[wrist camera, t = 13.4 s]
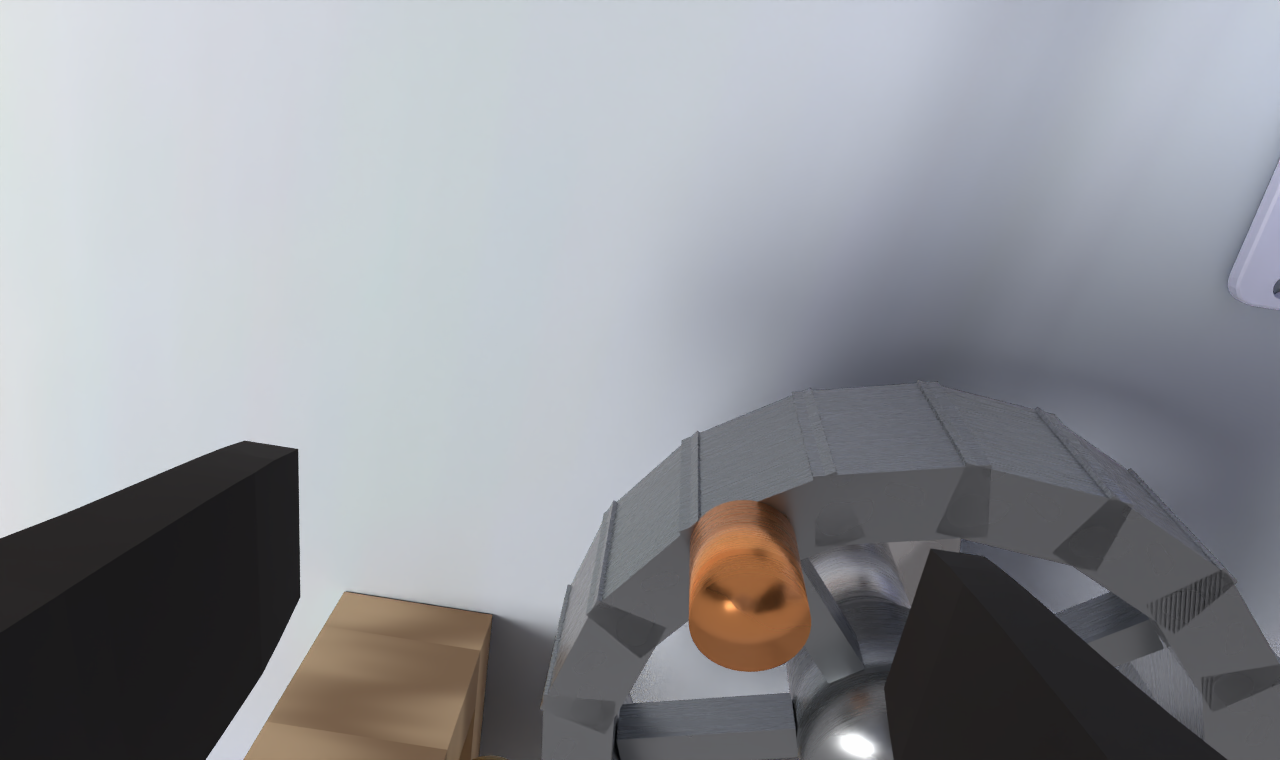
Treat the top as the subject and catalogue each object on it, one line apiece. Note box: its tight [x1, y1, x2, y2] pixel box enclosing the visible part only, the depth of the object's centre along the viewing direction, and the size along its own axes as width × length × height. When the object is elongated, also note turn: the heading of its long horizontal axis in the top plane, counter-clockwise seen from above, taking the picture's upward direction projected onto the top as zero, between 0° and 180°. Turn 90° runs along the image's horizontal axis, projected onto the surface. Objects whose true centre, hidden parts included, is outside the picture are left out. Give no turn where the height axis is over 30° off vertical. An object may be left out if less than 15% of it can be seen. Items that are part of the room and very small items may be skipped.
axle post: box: [808, 538, 961, 609], centre depth 20 cm, size 6×6×4 cm
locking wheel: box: [540, 380, 1280, 760], centre depth 15 cm, size 10×12×5 cm
